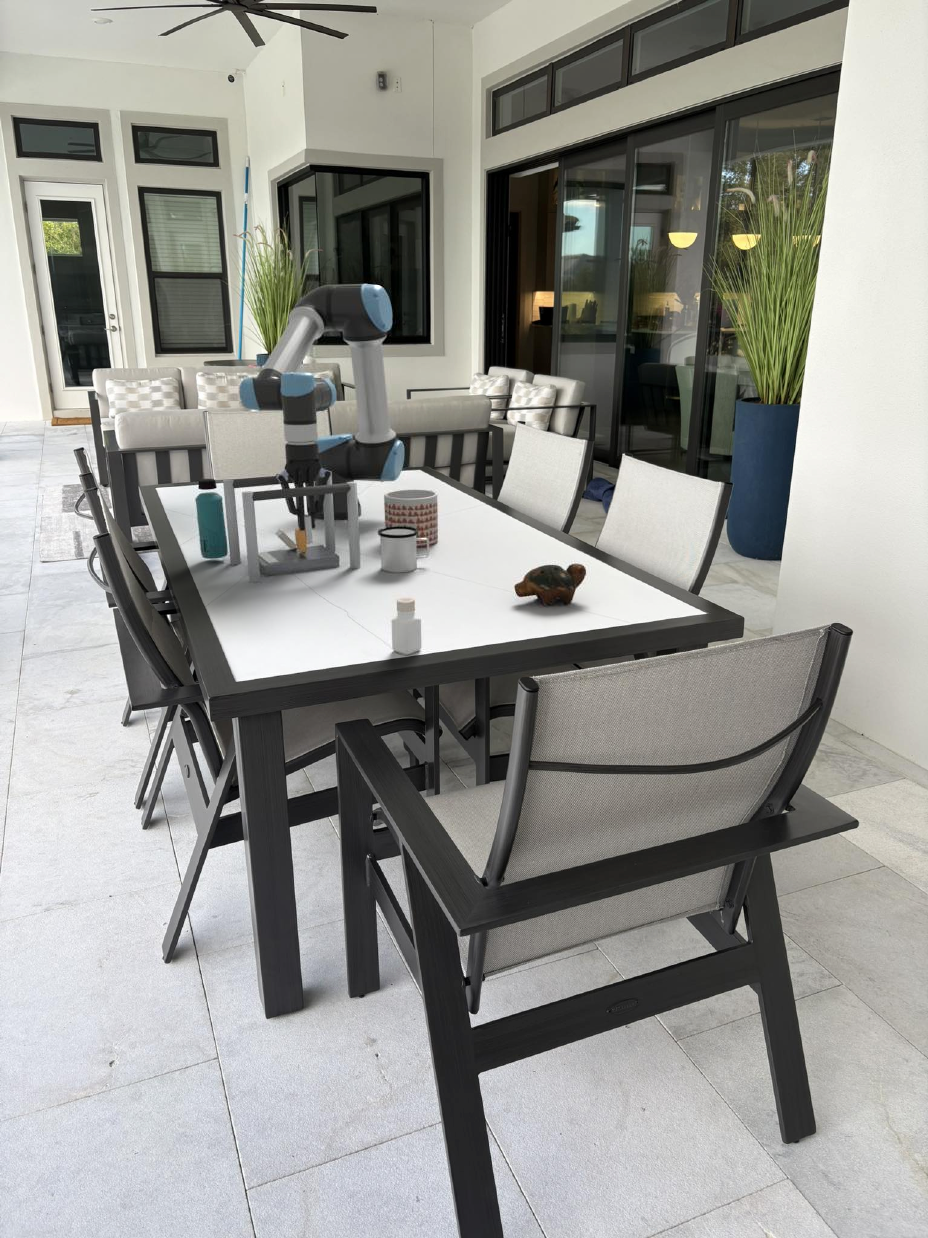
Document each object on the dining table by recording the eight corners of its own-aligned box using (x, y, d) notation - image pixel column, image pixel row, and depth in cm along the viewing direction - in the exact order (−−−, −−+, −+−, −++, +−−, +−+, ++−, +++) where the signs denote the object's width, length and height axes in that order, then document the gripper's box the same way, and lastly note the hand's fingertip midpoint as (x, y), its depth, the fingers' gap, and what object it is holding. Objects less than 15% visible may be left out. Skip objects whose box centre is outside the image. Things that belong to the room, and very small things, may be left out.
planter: (446, 538, 237) (446, 491, 233) (423, 550, 225) (422, 500, 221) (401, 533, 242) (400, 487, 238) (376, 545, 231) (374, 496, 227)
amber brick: (303, 551, 214) (301, 528, 212) (307, 553, 212) (305, 530, 210) (297, 552, 213) (294, 529, 212) (301, 555, 211) (298, 531, 209)
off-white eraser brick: (295, 544, 218) (279, 528, 215) (299, 547, 216) (283, 531, 213) (290, 549, 218) (274, 533, 215) (294, 552, 216) (278, 536, 213)
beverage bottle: (234, 559, 218) (227, 477, 211) (218, 566, 212) (210, 482, 206) (211, 557, 220) (203, 475, 213) (195, 563, 214) (186, 480, 208)
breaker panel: (322, 554, 222) (322, 543, 221) (339, 566, 212) (339, 554, 211) (250, 564, 214) (250, 552, 213) (265, 576, 204) (264, 564, 203)
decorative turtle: (594, 604, 183) (594, 567, 180) (525, 616, 180) (523, 579, 176) (575, 588, 192) (575, 553, 189) (509, 599, 188) (507, 564, 185)
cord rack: (333, 549, 226) (329, 470, 220) (362, 567, 210) (358, 483, 204) (229, 562, 215) (221, 479, 208) (251, 583, 199) (243, 493, 192)
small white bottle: (406, 656, 156) (405, 604, 153) (391, 651, 158) (389, 600, 155) (422, 650, 159) (421, 599, 156) (407, 645, 161) (405, 594, 158)
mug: (383, 575, 204) (382, 536, 201) (375, 564, 213) (374, 527, 210) (434, 570, 207) (433, 532, 205) (424, 560, 216) (423, 524, 213)
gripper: (322, 438, 211) (328, 536, 218) (268, 442, 205) (276, 542, 212) (334, 442, 204) (339, 542, 212) (278, 446, 199) (286, 549, 206)
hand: (307, 542), depth 212 cm, fingers closed
